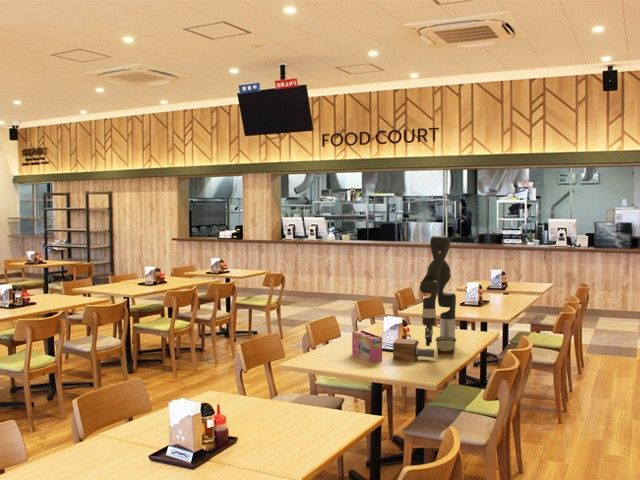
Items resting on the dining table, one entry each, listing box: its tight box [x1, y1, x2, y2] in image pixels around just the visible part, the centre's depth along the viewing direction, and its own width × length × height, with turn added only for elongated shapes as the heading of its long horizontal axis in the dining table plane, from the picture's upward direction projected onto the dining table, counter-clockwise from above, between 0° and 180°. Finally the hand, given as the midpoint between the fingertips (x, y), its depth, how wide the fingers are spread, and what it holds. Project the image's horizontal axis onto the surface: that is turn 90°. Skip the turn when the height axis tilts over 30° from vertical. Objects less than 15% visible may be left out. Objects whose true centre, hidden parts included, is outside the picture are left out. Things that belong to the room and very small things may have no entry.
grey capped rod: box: [415, 346, 435, 359], centre depth 379 cm, size 6×19×6 cm, turn 73°
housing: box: [392, 338, 418, 363], centre depth 381 cm, size 12×12×10 cm
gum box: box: [351, 330, 383, 363], centre depth 384 cm, size 24×8×14 cm, turn 26°
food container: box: [434, 335, 457, 356], centre depth 392 cm, size 12×6×10 cm, turn 84°
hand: (428, 344), depth 377 cm, fingers open, 8 cm apart
